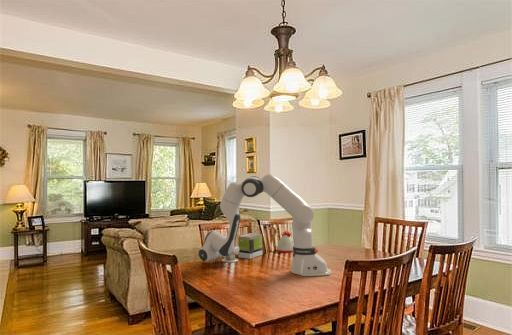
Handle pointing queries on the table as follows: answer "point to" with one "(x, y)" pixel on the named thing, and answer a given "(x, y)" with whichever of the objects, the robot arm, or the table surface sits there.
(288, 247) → the kitchen timer
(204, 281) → the table surface
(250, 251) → the tea box
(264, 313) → the table surface
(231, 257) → the french press
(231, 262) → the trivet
